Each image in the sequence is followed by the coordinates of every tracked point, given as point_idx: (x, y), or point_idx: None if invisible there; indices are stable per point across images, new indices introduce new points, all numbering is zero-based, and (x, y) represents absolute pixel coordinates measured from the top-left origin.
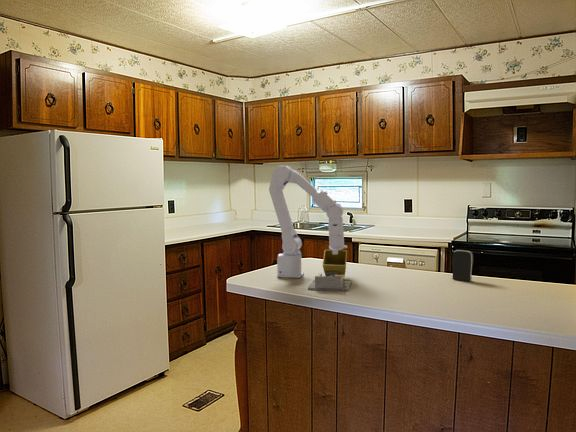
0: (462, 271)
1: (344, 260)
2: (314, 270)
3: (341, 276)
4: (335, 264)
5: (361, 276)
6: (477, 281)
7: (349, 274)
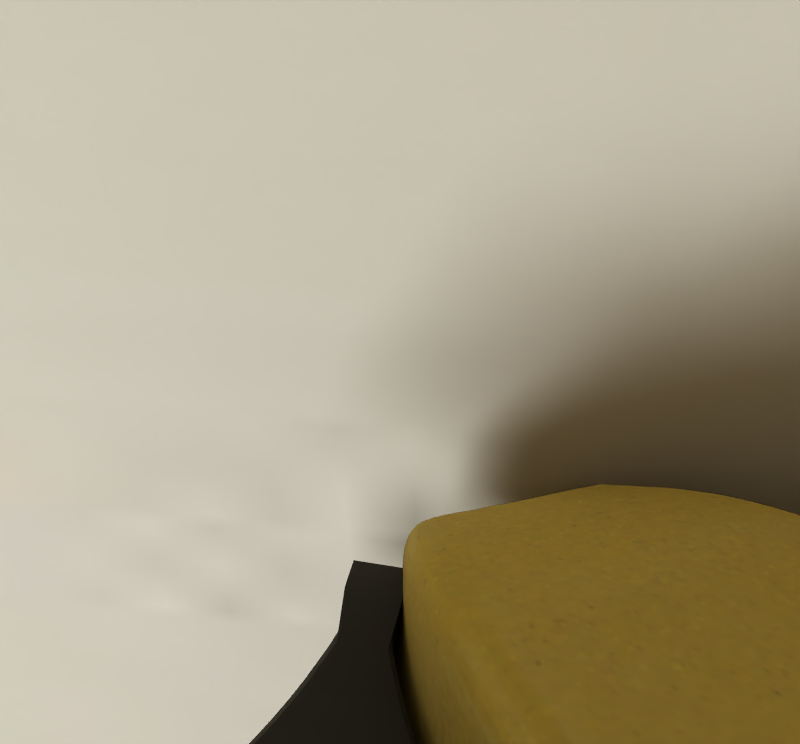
0: None
1: (467, 672)
2: (41, 732)
3: None
4: None
5: (315, 105)
6: None
7: (183, 322)
